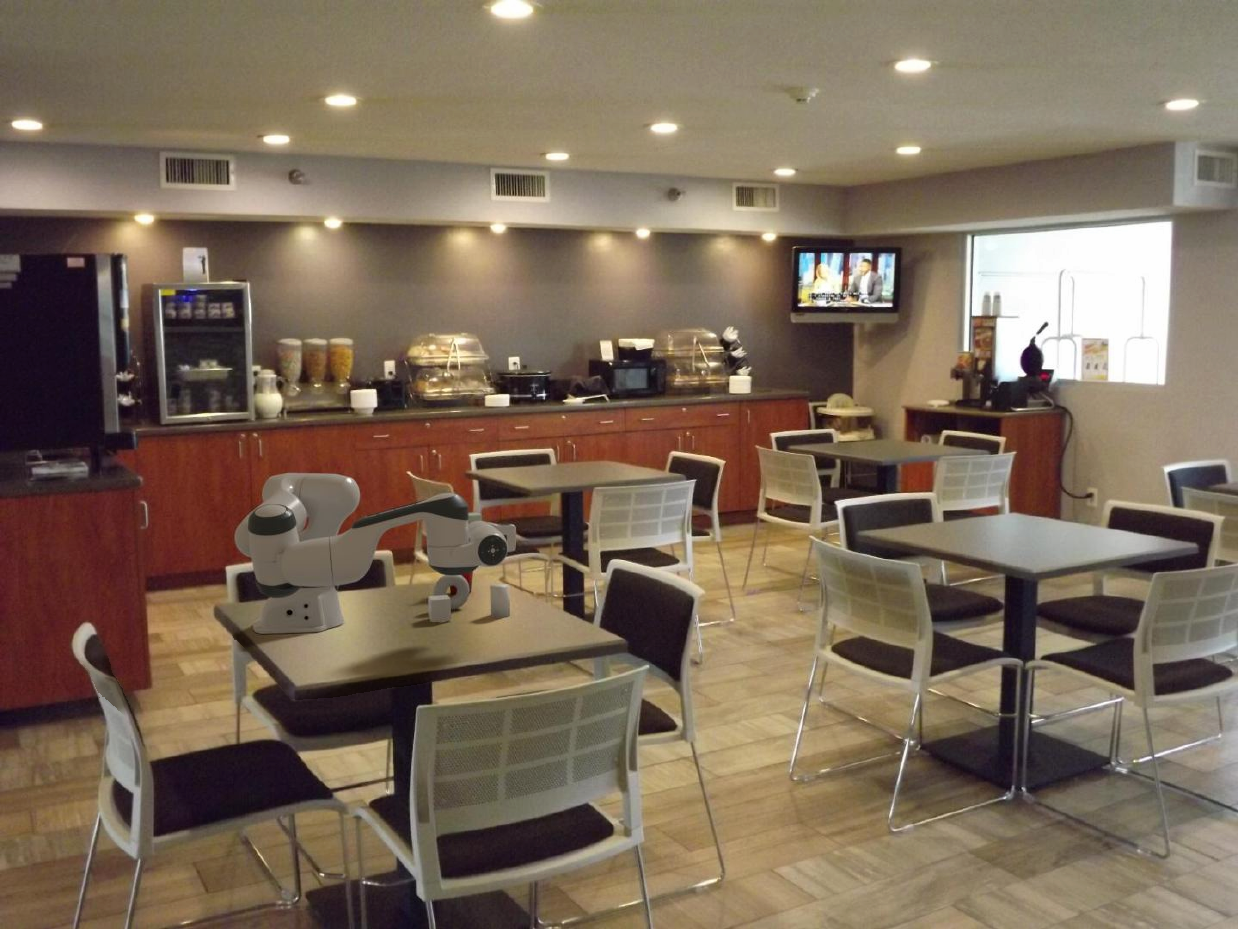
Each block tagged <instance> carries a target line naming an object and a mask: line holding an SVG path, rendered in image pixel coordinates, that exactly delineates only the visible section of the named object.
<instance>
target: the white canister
mask: <svg viewBox="0 0 1238 929" xmlns="http://www.w3.org/2000/svg"><path fill="white" fill-rule="evenodd" d="M489 588H490V589H489V590H490V617H492V616H493V617H492V618H496V617H502V618H507V617H508V618H509V616H511V608H510V607H511V602H510V601H511V600H510V599H511V598H510V595H511V594H510V593H511V592H510V584H508V583H494V584H493V583H492V584H491V585H489Z"/></svg>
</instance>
